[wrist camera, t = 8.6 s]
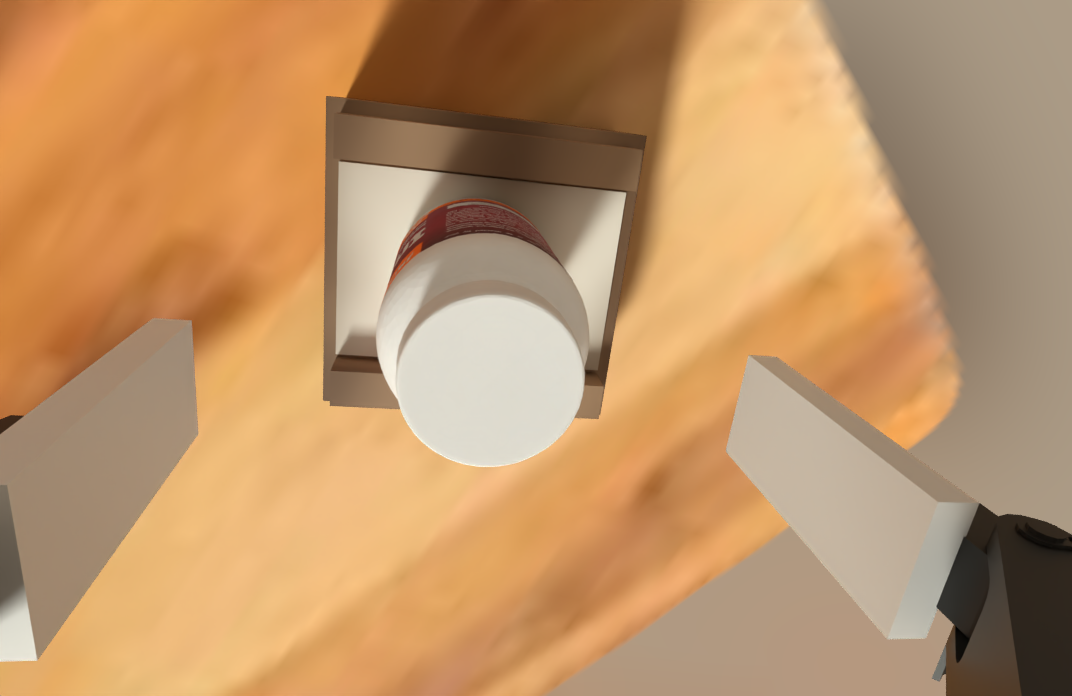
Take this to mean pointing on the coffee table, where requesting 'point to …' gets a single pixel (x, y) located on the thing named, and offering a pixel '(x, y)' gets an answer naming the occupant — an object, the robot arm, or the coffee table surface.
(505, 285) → the pill bottle
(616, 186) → the brown square open box
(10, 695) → the coffee table surface
